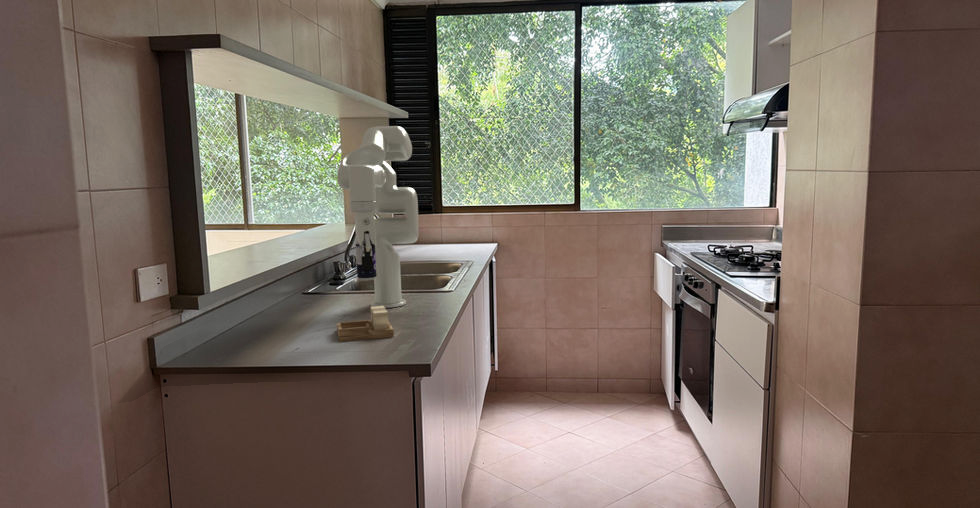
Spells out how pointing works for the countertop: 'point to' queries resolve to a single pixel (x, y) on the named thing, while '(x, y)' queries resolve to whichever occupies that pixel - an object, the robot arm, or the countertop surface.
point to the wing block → (379, 318)
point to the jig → (361, 331)
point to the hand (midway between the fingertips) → (366, 267)
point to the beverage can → (361, 274)
